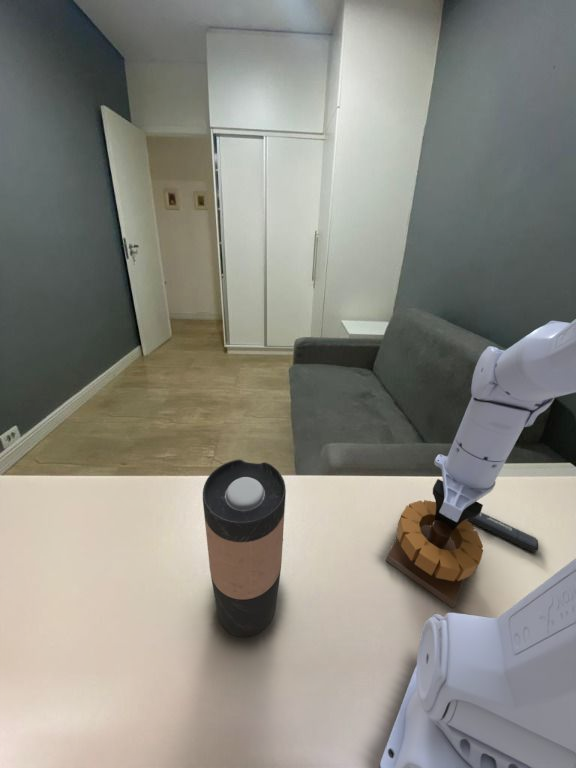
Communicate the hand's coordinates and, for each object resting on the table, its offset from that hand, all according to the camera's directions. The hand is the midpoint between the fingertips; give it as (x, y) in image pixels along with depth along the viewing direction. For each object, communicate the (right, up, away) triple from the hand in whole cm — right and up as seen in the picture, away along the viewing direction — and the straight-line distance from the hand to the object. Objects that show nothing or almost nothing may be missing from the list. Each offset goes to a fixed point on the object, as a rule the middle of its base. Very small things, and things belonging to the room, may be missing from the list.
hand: (446, 518), depth 44 cm
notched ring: (-3, -3, -2) cm, 4 cm away
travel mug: (-28, -8, -6) cm, 29 cm away
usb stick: (+10, -4, +4) cm, 12 cm away
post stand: (-3, -6, 0) cm, 6 cm away
